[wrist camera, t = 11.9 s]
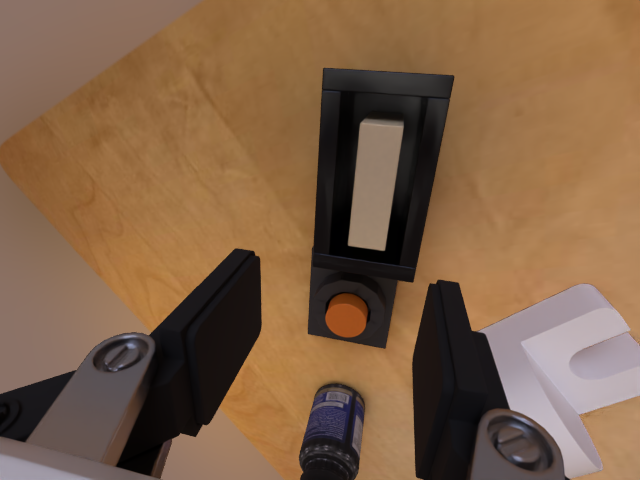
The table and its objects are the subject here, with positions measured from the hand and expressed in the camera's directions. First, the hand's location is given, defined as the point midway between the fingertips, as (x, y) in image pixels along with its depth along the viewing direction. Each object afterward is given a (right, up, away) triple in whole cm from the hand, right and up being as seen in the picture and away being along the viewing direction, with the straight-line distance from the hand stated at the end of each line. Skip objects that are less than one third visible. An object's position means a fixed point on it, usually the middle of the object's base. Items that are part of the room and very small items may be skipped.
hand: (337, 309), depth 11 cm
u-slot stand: (+19, -10, +24) cm, 32 cm away
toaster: (+5, +9, +19) cm, 21 cm away
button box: (+3, -3, +25) cm, 25 cm away
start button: (+2, -4, +22) cm, 22 cm away
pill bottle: (+2, -17, +32) cm, 36 cm away
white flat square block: (+4, +8, +18) cm, 21 cm away
